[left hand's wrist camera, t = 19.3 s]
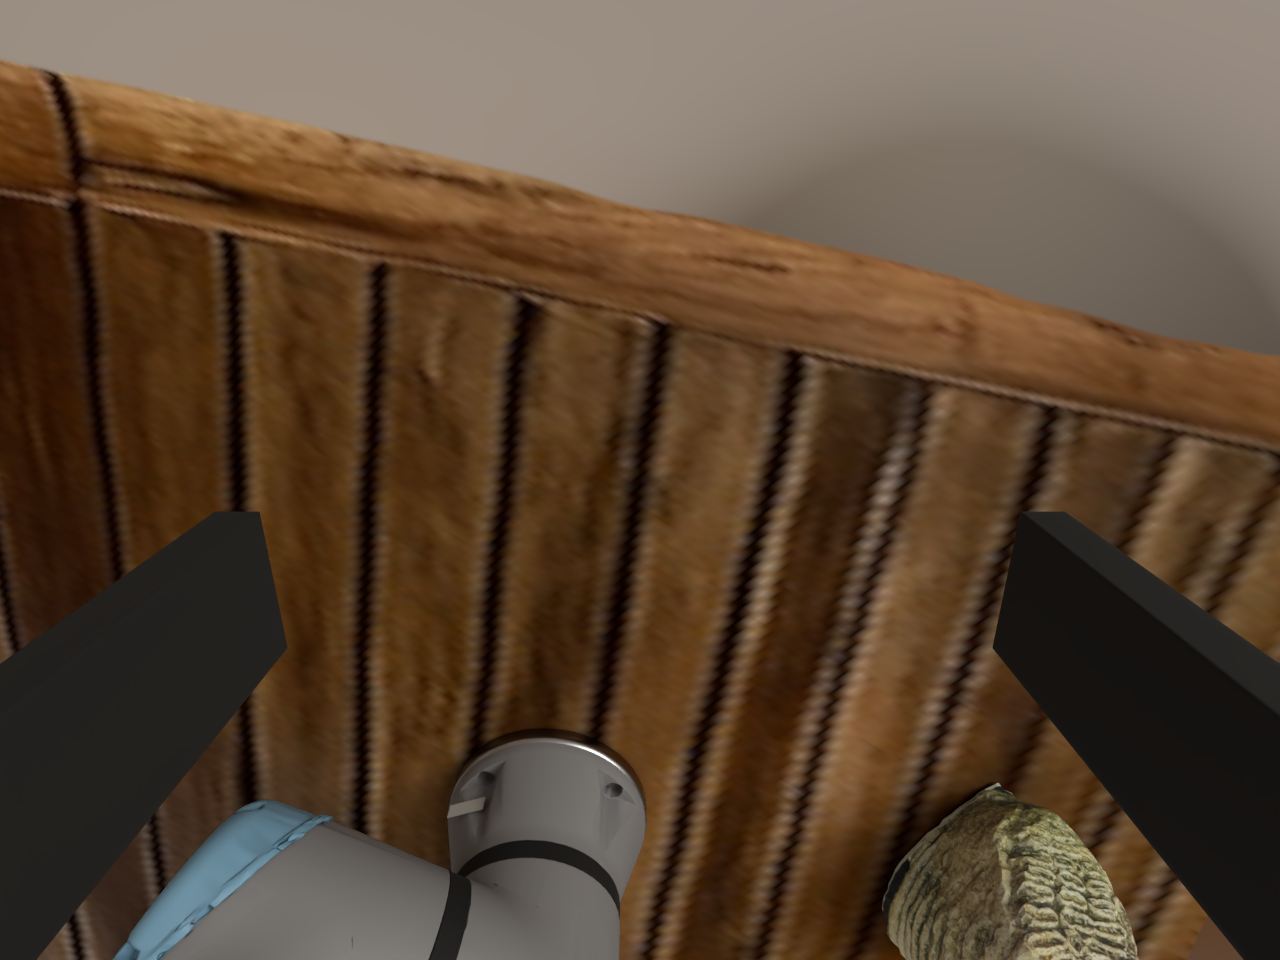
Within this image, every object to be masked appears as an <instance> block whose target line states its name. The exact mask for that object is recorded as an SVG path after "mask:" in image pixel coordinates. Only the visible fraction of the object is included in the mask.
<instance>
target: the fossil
mask: <svg viewBox="0 0 1280 960" xmlns="http://www.w3.org/2000/svg"><path fill="white" fill-rule="evenodd" d="M882 910H883V912H884V914H885V918H886V921H887V935H888V937H889V938H890V940H891V941H892V942H893V943H894V944H895V945H896V946H897V947H898V948H899V949H900V953H901V955H902V956H903V957H904V958H905V959H906V960H1139V959H1138V957H1137V946H1136V944H1135V941H1134V937H1133V933H1132V929H1131V924H1130V921H1129V919H1128V916H1127V914H1126V912H1125V909H1124V907H1123V905H1122V903H1121V902H1120V901H1119V899H1118V898H1117V897H1116V896H1115V895H1114V892H1113V888H1112V885H1111V883H1110V881H1109V879H1108V876H1107V874H1106V872H1105V871H1104V870H1102V868H1101V865H1100V864H1099V863H1098V862H1097V861H1096V859H1095V858H1094V856H1093V855H1092V853H1091V852H1090V851H1089V850H1088V849H1087V847H1086V846H1085V845H1084V844H1083V842H1082V841H1081V840H1080V838H1079V837H1078V836H1077V834H1076V833H1075V832H1074V831H1073V830H1072V829H1071V828H1070V827H1069V826H1068V824H1067V823H1066V822H1065V821H1064V820H1062V819H1061V818H1060V817H1059V816H1058V815H1057V814H1056V813H1054V812H1052V811H1050V810H1048V809H1046V808H1044V807H1038V806H1035V805H1032V804H1027V803H1022V802H1018V801H1017V800H1016V799H1015V796H1014V795H1013V794H1012V793H1010V792H1008V791H1006V790H1004V789H1003V788H1002V787H1001V785H1000V784H999V783H997V784H995V785H992V786H990V787H988V788H986V789H984V790H982V791H981V792H979V793H978V794H977V795H976V796H975V797H974V798H972V799H971V800H969V801H967V802H966V803H964V804H963V805H962V806H960V807H959V808H957V809H956V810H955V811H954V812H953V813H952V814H950V815H949V816H947V817H946V818H945V819H943V820H942V822H941V823H940V825H939V826H937V827H936V828H934V829H933V830H931V831H930V832H928V833H927V834H926V835H925V836H924V837H923V838H922V839H921V840H920V841H919V842H918V843H917V844H916V845H915V846H914V847H913V848H912V849H911V850H910V851H909V852H908V853H907V854H906V856H905V857H904V858H903V859H902V861H901V862H900V863H899V864H898V866H897V868H896V869H895V871H894V873H893V876H892V878H891V880H890V882H889V884H888V890H887V892H886V893H885V895H884V898H883V904H882Z"/></svg>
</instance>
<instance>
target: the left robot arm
mask: <svg viewBox="0 0 1280 960" xmlns="http://www.w3.org/2000/svg"><path fill="white" fill-rule="evenodd" d="M286 649H287V644H286V639H285V634H284V629H283V624H282V619H281V614H280V609H279V605H278V600H277V595H276V590H275V585H274V580H273V575H272V571H271V566H270V561H269V556H268V551H267V546H266V541H265V536H264V532H263V527H262V522H261V517H260V512H214V513H213V514H211V515H210V516H208V517H207V518H205V519H204V520H203V521H201V522H200V523H198V524H197V525H196V526H194V527H193V528H191V529H190V530H189V531H187V532H186V533H184V534H183V535H182V536H180V537H179V538H177V539H176V540H174V541H173V542H172V543H170V544H169V545H167V546H166V547H165V548H163V549H162V550H160V551H159V552H158V553H156V554H155V555H153V556H152V557H150V558H149V559H148V560H146V561H145V562H143V563H142V564H141V565H139V566H138V567H136V568H135V569H134V570H132V571H131V572H129V573H128V574H127V575H125V576H124V577H122V578H121V579H119V580H118V581H117V582H115V583H114V584H112V585H111V586H110V587H108V588H107V589H105V590H104V591H103V592H101V593H100V594H98V595H97V596H96V597H94V598H93V599H91V600H90V601H88V602H87V603H86V604H84V605H83V606H81V607H80V608H79V609H77V610H76V611H74V612H73V613H72V614H70V615H69V616H67V617H66V618H64V619H63V620H62V621H60V622H59V623H57V624H56V625H55V626H53V627H52V628H50V629H49V630H48V631H46V632H45V633H43V634H42V635H41V636H39V637H38V638H36V639H35V640H33V641H32V642H31V643H29V644H28V645H26V646H25V647H24V648H22V649H21V650H19V651H18V652H17V653H15V654H14V655H12V656H11V657H9V658H8V659H7V660H5V661H4V662H2V663H1V664H0V960H36V959H37V958H38V957H39V956H40V954H41V953H42V952H43V951H44V949H45V948H46V947H47V946H48V944H49V943H50V942H51V941H52V940H53V938H54V937H55V936H56V935H57V933H58V932H59V931H60V930H61V928H62V927H63V926H64V925H65V923H66V922H67V921H68V920H69V918H70V917H71V916H72V915H73V913H74V912H75V911H76V910H77V908H78V907H79V906H80V905H81V904H82V902H83V901H84V900H85V899H86V897H87V896H88V895H89V894H90V892H91V891H92V890H93V889H94V887H95V886H96V885H97V884H98V882H99V881H100V880H101V879H102V877H103V876H104V875H105V874H106V872H107V871H108V870H109V869H110V868H111V866H112V865H113V864H114V863H115V861H116V860H117V859H118V858H119V856H120V855H121V854H122V853H123V851H124V850H125V849H126V848H127V846H128V845H129V844H130V843H131V841H132V840H133V839H134V838H135V836H136V835H137V834H138V833H139V832H140V830H141V829H142V828H143V827H144V825H145V824H146V823H147V822H148V820H149V819H150V818H151V817H152V815H153V814H154V813H155V812H156V810H157V809H158V808H159V807H160V805H161V804H162V803H163V802H164V801H165V799H166V798H167V797H168V796H169V794H170V793H171V792H172V791H173V789H174V788H175V787H176V786H177V784H178V783H179V782H180V781H181V779H182V778H183V777H184V776H185V774H186V773H187V772H188V771H189V769H190V768H191V767H192V766H193V765H194V763H195V762H196V761H197V760H198V758H199V757H200V756H201V755H202V753H203V752H204V751H205V750H206V748H207V747H208V746H209V745H210V743H211V742H212V741H213V740H214V738H215V737H216V736H217V735H218V733H219V732H220V731H221V730H222V729H223V727H224V726H225V725H226V724H227V722H228V721H229V720H230V719H231V717H232V716H233V715H234V714H235V712H236V711H237V710H238V709H239V707H240V706H241V705H242V704H243V702H244V701H245V700H246V699H247V697H248V696H249V695H250V694H251V693H252V691H253V690H254V689H255V688H256V686H257V685H258V684H259V683H260V681H261V680H262V679H263V678H264V676H265V675H266V674H267V673H268V671H269V670H270V669H271V668H272V666H273V665H274V664H275V663H276V662H277V660H278V659H279V658H280V657H281V655H282V654H283V653H284V652H285V650H286ZM993 649H994V650H995V652H996V653H997V654H998V655H999V657H1000V658H1001V659H1002V660H1003V662H1004V663H1005V664H1006V665H1007V666H1008V668H1009V669H1010V670H1011V671H1012V673H1013V674H1014V675H1015V676H1016V678H1017V679H1018V680H1019V681H1020V683H1021V684H1022V685H1023V686H1024V688H1025V689H1026V690H1027V691H1028V693H1029V694H1030V695H1031V696H1032V698H1033V699H1034V700H1035V701H1036V702H1037V704H1038V705H1039V706H1040V707H1041V709H1042V710H1043V711H1044V712H1045V714H1046V715H1047V716H1048V717H1049V719H1050V720H1051V721H1052V722H1053V724H1054V725H1055V726H1056V727H1057V729H1058V730H1059V731H1060V732H1061V733H1062V735H1063V736H1064V737H1065V738H1066V740H1067V741H1068V742H1069V743H1070V745H1071V746H1072V747H1073V748H1074V750H1075V751H1076V752H1077V753H1078V755H1079V756H1080V757H1081V758H1082V760H1083V761H1084V762H1085V763H1086V765H1087V766H1088V767H1089V768H1090V769H1091V771H1092V772H1093V773H1094V774H1095V776H1096V777H1097V778H1098V779H1099V781H1100V782H1101V783H1102V784H1103V786H1104V787H1105V788H1106V789H1107V791H1108V792H1109V793H1110V794H1111V796H1112V797H1113V798H1114V799H1115V801H1116V802H1117V803H1118V804H1119V805H1120V807H1121V808H1122V809H1123V810H1124V812H1125V813H1126V814H1127V815H1128V817H1129V818H1130V819H1131V820H1132V822H1133V823H1134V824H1135V825H1136V827H1137V828H1138V829H1139V830H1140V832H1141V833H1142V834H1143V835H1144V837H1145V838H1146V839H1147V840H1148V841H1149V843H1150V844H1151V845H1152V846H1153V848H1154V849H1155V850H1156V851H1157V853H1158V854H1159V855H1160V856H1161V858H1162V859H1163V860H1164V861H1165V863H1166V864H1167V865H1168V866H1169V868H1170V869H1171V870H1172V871H1173V872H1174V874H1175V875H1176V876H1177V877H1178V879H1179V880H1180V881H1181V882H1182V884H1183V885H1184V886H1185V887H1186V889H1187V890H1188V891H1189V892H1190V894H1191V895H1192V896H1193V897H1194V899H1195V900H1196V901H1197V902H1198V904H1199V905H1200V906H1201V907H1202V908H1203V910H1204V911H1205V912H1206V913H1207V915H1208V916H1209V917H1210V918H1211V920H1212V921H1213V922H1214V923H1215V925H1216V926H1217V927H1218V928H1219V930H1220V931H1221V932H1222V933H1223V935H1224V936H1225V937H1226V938H1227V939H1228V941H1229V942H1230V943H1231V944H1232V946H1233V947H1234V948H1235V949H1236V951H1237V952H1238V953H1239V954H1240V956H1241V957H1242V958H1243V959H1244V960H1280V663H1279V662H1276V661H1275V660H1273V659H1272V658H1271V657H1269V656H1268V655H1266V654H1265V653H1263V652H1262V651H1261V650H1259V649H1258V648H1256V647H1255V646H1254V645H1252V644H1251V643H1249V642H1248V641H1247V640H1245V639H1244V638H1242V637H1241V636H1239V635H1238V634H1237V633H1235V632H1234V631H1232V630H1231V629H1230V628H1228V627H1227V626H1225V625H1224V624H1223V623H1221V622H1220V621H1218V620H1217V619H1216V618H1214V617H1213V616H1211V615H1210V614H1208V613H1207V612H1206V611H1204V610H1203V609H1201V608H1200V607H1199V606H1197V605H1196V604H1194V603H1193V602H1192V601H1190V600H1189V599H1187V598H1186V597H1184V596H1183V595H1182V594H1180V593H1179V592H1177V591H1176V590H1175V589H1173V588H1172V587H1170V586H1169V585H1168V584H1166V583H1165V582H1163V581H1162V580H1161V579H1159V578H1158V577H1156V576H1155V575H1153V574H1152V573H1151V572H1149V571H1148V570H1146V569H1145V568H1144V567H1142V566H1141V565H1139V564H1138V563H1137V562H1135V561H1134V560H1132V559H1131V558H1129V557H1128V556H1127V555H1125V554H1124V553H1122V552H1121V551H1120V550H1118V549H1117V548H1115V547H1114V546H1113V545H1111V544H1110V543H1108V542H1107V541H1106V540H1104V539H1103V538H1101V537H1100V536H1098V535H1097V534H1096V533H1094V532H1093V531H1091V530H1090V529H1089V528H1087V527H1086V526H1084V525H1083V524H1082V523H1080V522H1079V521H1077V520H1076V519H1075V518H1073V517H1072V516H1070V515H1069V514H1067V513H1066V512H1020V517H1019V522H1018V527H1017V532H1016V536H1015V541H1014V546H1013V551H1012V556H1011V561H1010V566H1009V571H1008V575H1007V580H1006V585H1005V590H1004V595H1003V600H1002V605H1001V609H1000V614H999V619H998V624H997V629H996V634H995V639H994V644H993ZM447 818H448V833H449V846H450V858H451V871H452V872H451V871H449V870H447V869H445V868H443V867H440V866H438V865H435V864H433V863H430V862H428V861H426V860H423V859H421V858H418V857H416V856H414V855H411V854H409V853H407V852H404V851H402V850H400V849H398V848H395V847H393V846H391V845H388V844H386V843H384V842H381V841H379V840H377V839H375V838H372V837H370V836H368V835H365V834H363V833H361V832H358V831H356V830H354V829H352V828H349V827H347V826H345V825H342V824H340V823H338V822H335V821H333V817H331V816H329V815H319V816H318V815H315V814H312V813H309V812H306V811H304V810H301V809H298V808H295V807H292V806H290V805H287V804H284V803H281V802H278V801H275V800H260V801H256V802H253V803H250V804H248V805H246V806H244V807H242V808H240V809H239V810H237V811H236V812H235V813H233V814H232V815H231V816H230V817H229V818H227V819H226V820H225V821H224V822H223V823H222V824H221V825H220V826H219V827H218V828H217V829H216V830H215V831H214V832H213V833H212V834H211V835H210V836H209V837H208V838H207V839H206V840H205V841H204V843H203V844H202V845H201V846H200V847H199V848H198V849H197V850H196V852H195V853H194V854H193V855H192V856H191V857H190V858H189V860H188V861H187V862H186V863H185V864H184V865H183V867H182V868H181V869H180V870H179V871H178V873H177V874H176V875H175V876H174V877H173V879H172V880H171V881H170V882H169V884H168V885H167V886H166V887H165V889H164V890H163V891H162V892H161V893H160V895H159V896H158V897H157V899H156V900H155V901H154V902H153V904H152V905H151V906H150V907H149V909H148V910H147V911H146V913H145V914H144V915H143V917H142V918H141V919H140V921H139V922H138V923H137V925H136V926H135V928H134V929H133V930H132V932H131V933H130V935H129V938H128V941H127V942H126V943H125V944H124V945H123V946H122V947H121V948H120V950H119V951H118V953H117V954H116V956H115V957H114V958H113V959H112V960H619V933H620V901H621V898H622V896H623V893H624V891H625V888H626V886H627V883H628V880H629V878H630V875H631V873H632V870H633V868H634V865H635V863H636V860H637V857H638V855H639V852H640V850H641V847H642V844H643V839H644V834H645V829H646V800H645V794H644V790H643V787H642V784H641V782H640V780H639V778H638V776H637V774H636V773H635V771H634V770H633V769H632V767H631V766H630V765H629V764H628V762H627V761H626V760H625V759H624V758H623V757H621V756H620V755H619V754H618V753H617V752H615V751H614V750H613V749H611V748H610V747H608V746H607V745H605V744H603V743H601V742H599V741H597V740H595V739H593V738H590V737H588V736H585V735H582V734H579V733H575V732H570V731H565V730H557V729H534V730H526V731H520V732H516V733H512V734H509V735H506V736H503V737H501V738H498V739H496V740H494V741H492V742H490V743H489V744H487V745H486V746H484V747H483V748H481V749H480V750H479V751H477V752H476V753H475V754H474V755H473V756H472V757H471V758H470V759H469V760H468V761H467V763H466V764H465V765H464V767H463V768H462V770H461V772H460V774H459V776H458V778H457V781H456V783H455V786H454V789H453V793H452V796H451V799H450V804H449V812H448V816H447Z"/></svg>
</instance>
